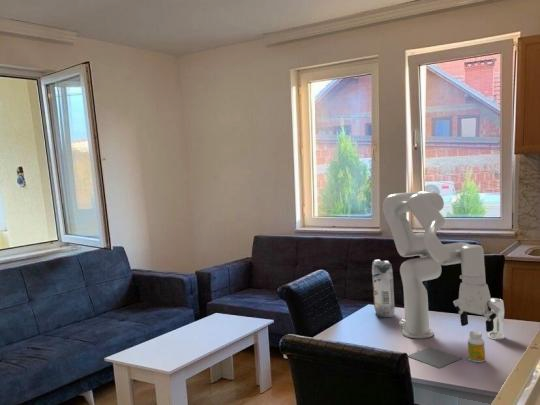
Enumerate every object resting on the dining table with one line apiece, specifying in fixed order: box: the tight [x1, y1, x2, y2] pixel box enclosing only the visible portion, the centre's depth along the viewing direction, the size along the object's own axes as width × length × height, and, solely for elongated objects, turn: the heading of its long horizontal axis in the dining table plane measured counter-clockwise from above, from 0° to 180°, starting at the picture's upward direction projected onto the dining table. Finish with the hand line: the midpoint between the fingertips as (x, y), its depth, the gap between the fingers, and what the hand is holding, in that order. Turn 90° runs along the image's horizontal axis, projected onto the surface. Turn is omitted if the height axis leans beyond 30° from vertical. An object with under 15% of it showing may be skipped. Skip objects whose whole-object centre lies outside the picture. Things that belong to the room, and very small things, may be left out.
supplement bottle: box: [467, 330, 486, 363], centre depth 161 cm, size 5×5×10 cm
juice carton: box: [371, 259, 395, 318], centre depth 218 cm, size 9×10×27 cm
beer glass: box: [485, 297, 505, 340], centre depth 181 cm, size 7×7×15 cm
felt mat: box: [408, 346, 463, 369], centre depth 166 cm, size 14×13×1 cm
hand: (477, 328), depth 160 cm, fingers open, 9 cm apart
